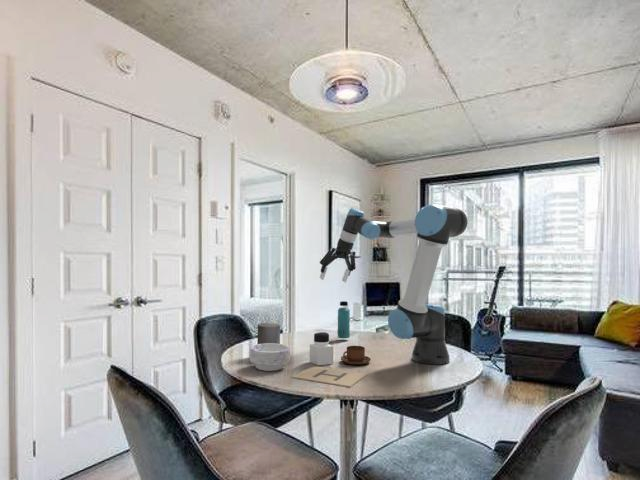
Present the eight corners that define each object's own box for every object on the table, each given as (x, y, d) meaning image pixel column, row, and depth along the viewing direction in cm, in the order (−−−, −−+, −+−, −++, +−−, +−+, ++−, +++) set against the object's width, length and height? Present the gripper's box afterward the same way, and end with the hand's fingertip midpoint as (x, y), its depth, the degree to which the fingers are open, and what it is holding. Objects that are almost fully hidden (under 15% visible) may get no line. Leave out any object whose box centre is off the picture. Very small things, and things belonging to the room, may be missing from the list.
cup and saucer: (360, 368, 151) (360, 352, 151) (334, 363, 158) (335, 348, 159) (375, 362, 161) (376, 347, 161) (351, 357, 168) (351, 343, 168)
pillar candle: (252, 356, 168) (253, 321, 169) (271, 353, 174) (272, 318, 175) (265, 361, 161) (266, 323, 161) (284, 357, 167) (285, 321, 168)
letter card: (367, 374, 142) (367, 373, 142) (350, 387, 128) (350, 386, 128) (313, 366, 152) (313, 365, 152) (292, 377, 138) (292, 376, 138)
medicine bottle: (333, 363, 157) (333, 333, 158) (318, 366, 154) (318, 335, 154) (324, 359, 163) (324, 330, 164) (309, 361, 160) (309, 332, 160)
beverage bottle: (349, 338, 207) (349, 300, 208) (350, 341, 201) (350, 302, 202) (336, 338, 207) (337, 300, 208) (337, 341, 201) (338, 301, 202)
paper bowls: (291, 373, 144) (291, 350, 144) (248, 374, 142) (249, 351, 142) (288, 362, 159) (288, 342, 159) (250, 363, 157) (250, 343, 157)
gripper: (362, 241, 199) (348, 279, 204) (321, 233, 186) (308, 274, 190) (371, 246, 193) (356, 285, 198) (329, 238, 180) (315, 280, 184)
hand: (332, 280), depth 194 cm, fingers open, 13 cm apart
